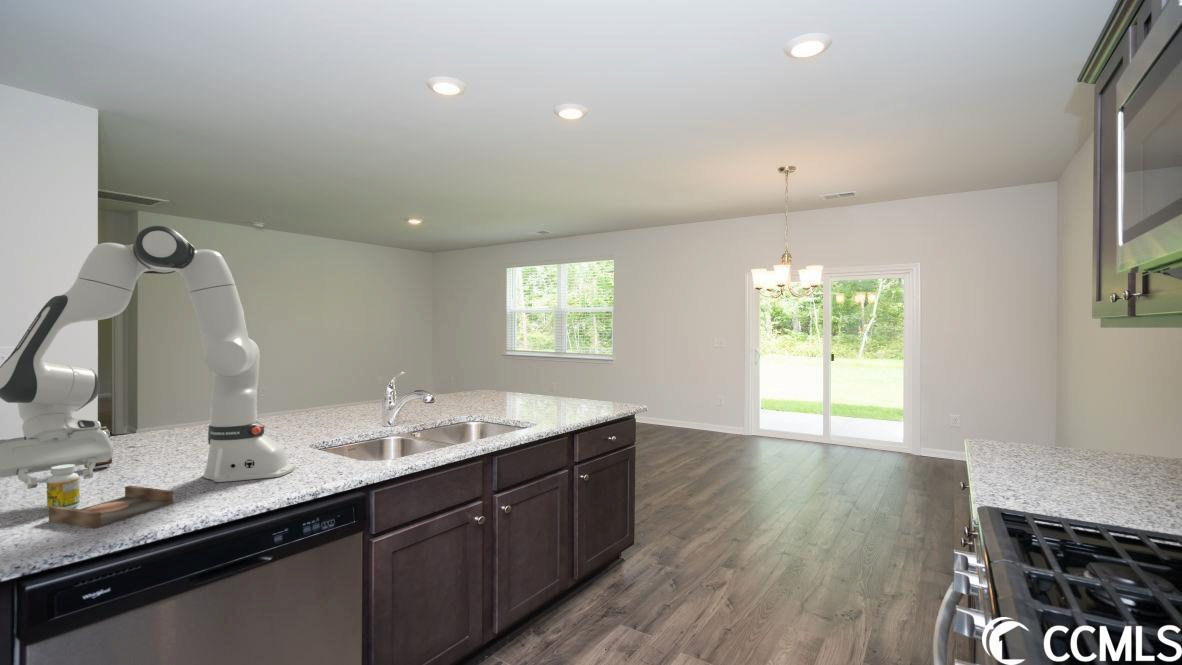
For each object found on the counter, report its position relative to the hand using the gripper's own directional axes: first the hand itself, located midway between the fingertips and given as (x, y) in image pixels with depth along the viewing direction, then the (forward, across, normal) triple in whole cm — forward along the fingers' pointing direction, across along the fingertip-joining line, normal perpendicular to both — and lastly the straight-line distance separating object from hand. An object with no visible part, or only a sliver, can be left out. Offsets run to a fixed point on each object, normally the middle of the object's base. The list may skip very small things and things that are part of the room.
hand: (61, 481), depth 125 cm
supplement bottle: (+5, 0, +3) cm, 6 cm away
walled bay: (+14, +6, -6) cm, 16 cm away
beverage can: (-20, +14, +29) cm, 38 cm away
